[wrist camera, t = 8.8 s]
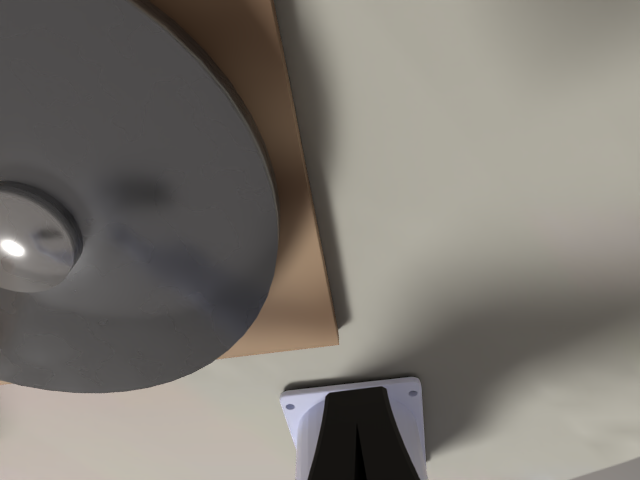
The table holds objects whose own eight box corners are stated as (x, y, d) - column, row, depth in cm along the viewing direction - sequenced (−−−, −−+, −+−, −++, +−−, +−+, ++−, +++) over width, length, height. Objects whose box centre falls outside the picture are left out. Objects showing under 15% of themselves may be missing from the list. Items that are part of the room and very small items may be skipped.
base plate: (338, 330, 24) (339, 346, 23) (-20, 373, 25) (-33, 390, 24) (237, -185, 13) (230, -194, 12) (-386, -47, 14) (-434, -45, 13)
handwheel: (141, -182, 12) (-5, -276, 6) (334, 316, 21) (341, 444, 16) (-370, 39, 14) (-768, 103, 9) (5, 390, 24) (-82, 520, 19)
